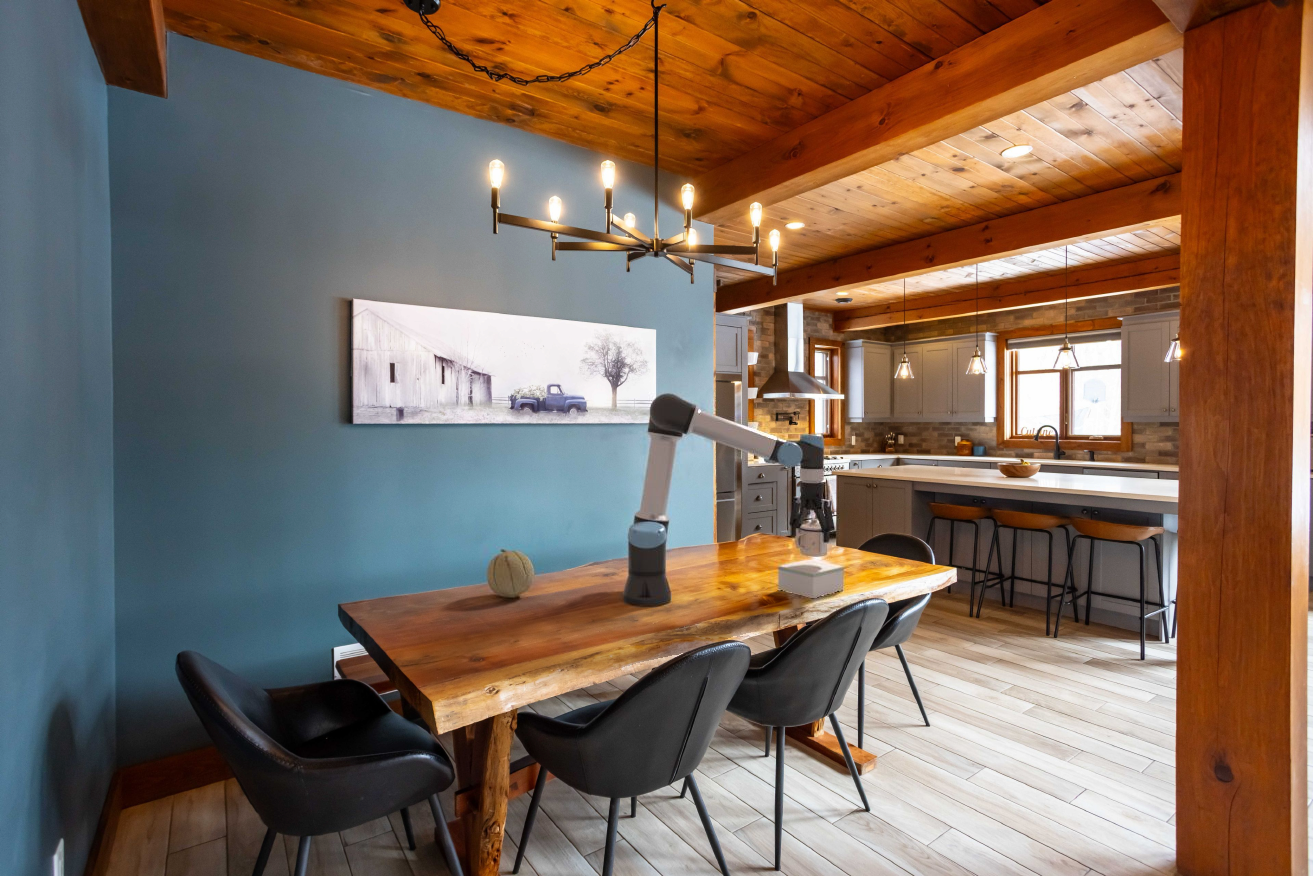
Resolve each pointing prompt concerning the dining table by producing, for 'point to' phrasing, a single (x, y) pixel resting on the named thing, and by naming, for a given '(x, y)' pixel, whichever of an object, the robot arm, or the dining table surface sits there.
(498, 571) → the cantaloupe
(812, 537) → the teacup with lid
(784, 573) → the stand
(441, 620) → the dining table surface
